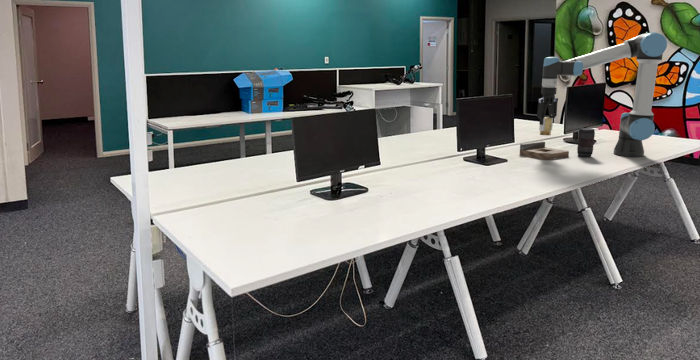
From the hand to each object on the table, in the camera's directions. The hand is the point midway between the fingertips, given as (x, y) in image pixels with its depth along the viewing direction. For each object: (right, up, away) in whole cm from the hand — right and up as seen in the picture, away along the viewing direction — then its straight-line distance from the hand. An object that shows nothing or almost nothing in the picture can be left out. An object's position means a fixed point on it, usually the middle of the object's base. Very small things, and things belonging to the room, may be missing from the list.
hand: (545, 130), depth 301 cm
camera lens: (+21, -14, +1) cm, 26 cm away
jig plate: (0, -14, +3) cm, 14 cm away
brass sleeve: (0, -2, +1) cm, 3 cm away
